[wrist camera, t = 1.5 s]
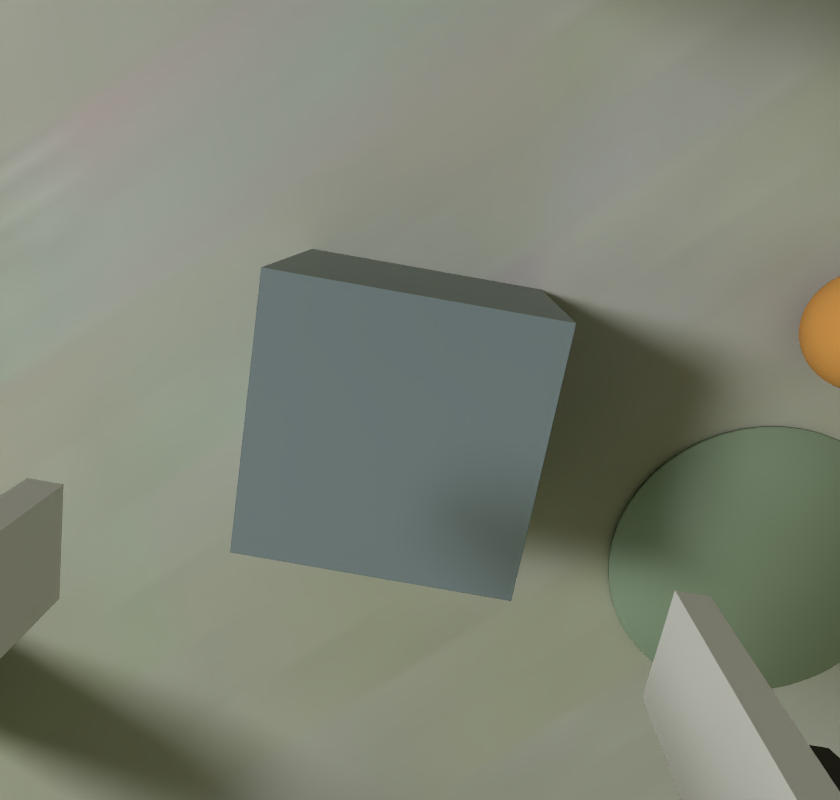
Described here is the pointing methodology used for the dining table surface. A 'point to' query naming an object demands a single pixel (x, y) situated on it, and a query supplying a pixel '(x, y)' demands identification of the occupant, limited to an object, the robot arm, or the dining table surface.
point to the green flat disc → (740, 546)
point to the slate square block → (397, 421)
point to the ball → (823, 332)
